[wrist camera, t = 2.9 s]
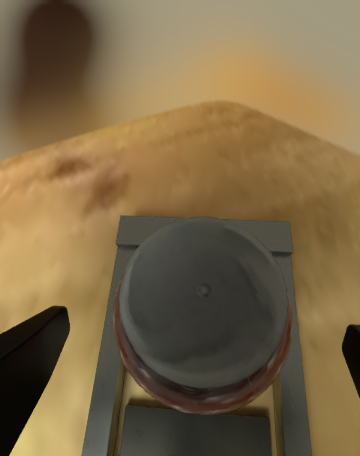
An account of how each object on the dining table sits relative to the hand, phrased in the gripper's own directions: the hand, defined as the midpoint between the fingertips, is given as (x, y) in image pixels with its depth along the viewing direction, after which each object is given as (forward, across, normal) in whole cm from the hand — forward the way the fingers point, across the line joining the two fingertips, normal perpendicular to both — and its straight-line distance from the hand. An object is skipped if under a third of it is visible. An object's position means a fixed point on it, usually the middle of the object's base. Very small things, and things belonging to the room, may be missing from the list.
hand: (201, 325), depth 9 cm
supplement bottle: (+6, 0, +6) cm, 9 cm away
